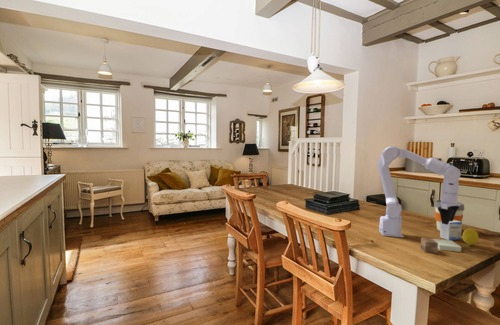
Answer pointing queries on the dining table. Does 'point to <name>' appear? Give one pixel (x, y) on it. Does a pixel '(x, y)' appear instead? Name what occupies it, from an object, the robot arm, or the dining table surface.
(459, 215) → the reusable coffee cup
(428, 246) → the walnut cube
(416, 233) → the dining table surface
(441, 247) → the base brick
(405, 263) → the dining table surface
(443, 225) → the medicine box
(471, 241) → the lemon
